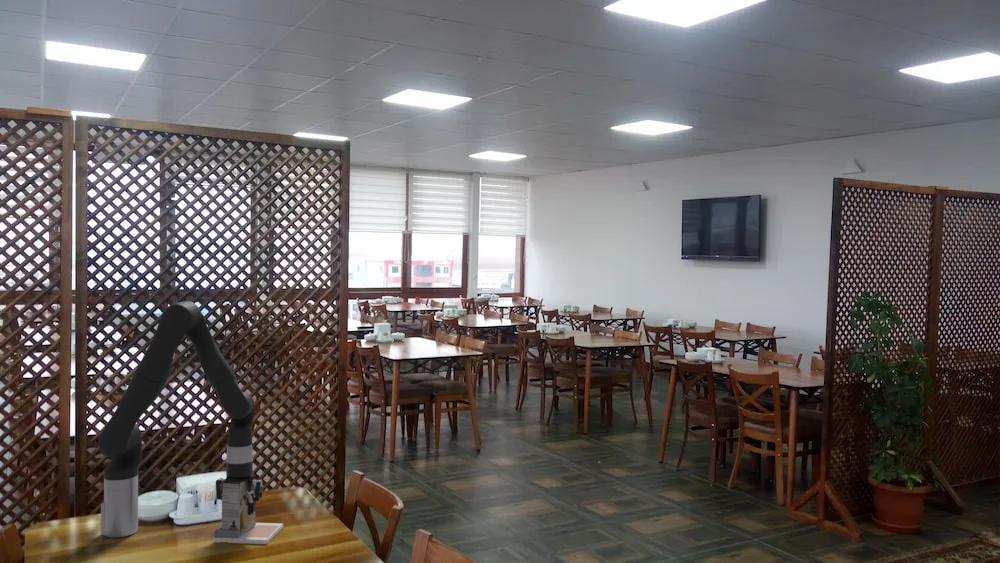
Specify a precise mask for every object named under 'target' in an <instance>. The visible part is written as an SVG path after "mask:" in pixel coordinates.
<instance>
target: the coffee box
mask: <svg viewBox="0 0 1000 563" xmlns="http://www.w3.org/2000/svg"><path fill="white" fill-rule="evenodd" d="M252 477H253V479H254V480H257V474H255V473H252ZM225 479H226V478H225ZM251 490H253V493H254V495H255V493H256V488H255V487H254V484H252V485H251V486H250V487H249V488H248V480H247V479H237V478H228V479H226V480H224V481H222V500H221V525H222V530H239V536H240V535H242V534H243V533H245V532H246V531H248V530H249V529H251V528H252V527H254V526H255V525H256V523H257V522H256V521H257V520H256V518H257V516H256V512H257V509H256V506H257V501H255V512H254V513H253V514H252V515H249V514H248V508H249V500H248V498H247V491H248V492H250V491H251Z"/></svg>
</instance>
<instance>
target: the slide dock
mask: <svg viewBox="0 0 1000 563" xmlns="http://www.w3.org/2000/svg"><path fill="white" fill-rule="evenodd" d="M283 528H284V523H280V522H279V523H278V522H274V523H273V522H256V525H255V526H254V527H252V528H251V529H249V530H248V531H246V532H245V533H243V534H242V535H240V536H239V530H222V524H221V525H220V526H218V527H217V528H216V529H215V530H214V537H213V543H220V542H228V543H229V544H250V545H252V544H253V545H254V544H255V545H268V544H269V543H270V542H271V541H272V540H273V539H274V538H275V537H276V535H277V534H278V533H279V532H281V530H283ZM273 537H274V538H273ZM228 543H227V544H228Z"/></svg>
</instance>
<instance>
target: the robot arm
mask: <svg viewBox="0 0 1000 563" xmlns="http://www.w3.org/2000/svg"><path fill="white" fill-rule="evenodd" d="M156 327H157V328H156V330H155V332H154V336H153V338H152V340H151V342H150V344H149V346H148V348H147V349H146V351H145V353H144V355H143V356H142V358H141V361H140V362H139V363H138V365H137V367H136V370H135V371H134V372H133V375H132V377H131V379H130V381H129V383H128V386H127V387H126V390H125V392H124V393H123V395H122V397H121V400H120V401H119V404H118V405H117V408H116V409H115V411H114V413H113V414H112V416H111V417H110V418H109V420H108V421H107V423H106V425H104V428H103V429H102V430H101V432H100V435H99V437H98V444H97V445H98V449H99V451H100V453H102V455H103V456H105V457H107V458H111V459H110V461H109V462H108V464H107V465H106V466H105V468H104V469H103V502H102V503H101V504H100V536H105V537H107V538H122V537H127V536H131V535H133V534H136V533H138V531H139V469H140V467H141V462H142V450H143V447H142V446H143V436H142V435H143V434H142V431H141V429H140V427H139V426H138V425H137V423H138V421H139V419H140V418H141V417H142V416H143V415H144V414H145V412H147V410H148V409H149V408H150V407H151V405H153V404H154V403H155V401H156V400H157V399H158V397H159V396H160V395H161V393H162V392H163V390H164V387H165V386H166V384H167V383H168V380H169V378H170V375H171V371H172V368H173V360H174V356H175V353H176V351H177V350H178V347H179V345H180V344H181V342H182V340H183V339H184V337H185V335H186V337H187V338H188V339H189V340H190V342H191V343H192V345H193V347H194V348H195V349H194V350H195V351H196V354H197V356H198V360H199V362H200V367H201V370H202V371H203V374H204V375H205V376H206V379H208V381H209V382H210V384H211V386H212V387H213V389H214V390H215V391H216V393H217V395H218V398H219V400H220V401H219V402H220V404H221V405H222V407H223V409H224V411H225V412H226V414H228V416H229V417H230V425H229V427H228V430H227V449H226V463H225V464H226V467H225V468H226V477H225V478H223V477H219V478H218V479H217V480H216V481H215V494H216V496H215V497H216V498H215V499H216V500H219V501H222V481H224V480H226V479H228V478H237V479H247V480H248V488H249V487H250V486H251V485H252V484H254V487H255V488H256V493H255V495H254V493H253V490H251V491H250V492H248V491H247V498H248V500H249V508H248V514H249V515H252V514H253V513H254V512H255V501H256V502H258V501H260V500H261V499H262V497H263V485H264V481H263V479H259V480H258V479H256V480H254V479H253V477H252V474H254V473H253V466H254V455H253V454H254V453H253V452H254V450H253V421H254V417H255V400H254V397H253V395H251V394H249V393H248V392H245V391H242V390H241V388H240V386H239V383H238V377H237V376H236V374H235V373H234V370H233V369H232V368H231V366H230V364H229V363H228V362H227V360H226V359H225V357H224V356H223V353H222V351H221V350H220V349H219V347H218V345H217V343H216V341H215V339H214V338H213V335H212V333H211V332H210V329H209V326H208V324H207V322H206V320H205V317H204V314H203V312H202V311H201V309H200V307H199V306H198V305H197V304H196V303H194V302H192V301H189V300H182V301H178V302H175V303H172V304H170V305H169V306H167V307H166V308H165V309H164V311H163V312H162V314H161V317H160V319H159V322H158V325H157V326H156Z"/></svg>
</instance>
